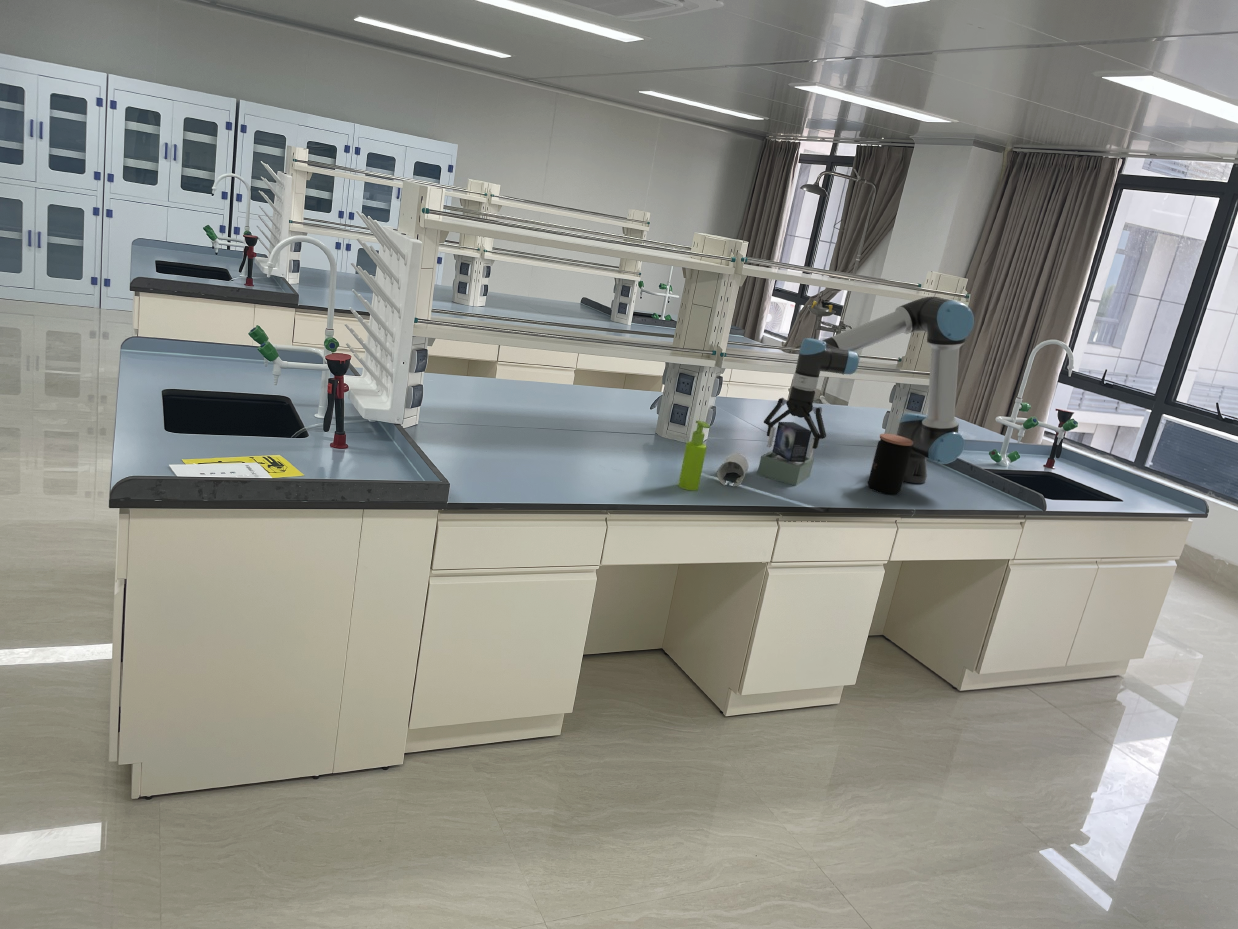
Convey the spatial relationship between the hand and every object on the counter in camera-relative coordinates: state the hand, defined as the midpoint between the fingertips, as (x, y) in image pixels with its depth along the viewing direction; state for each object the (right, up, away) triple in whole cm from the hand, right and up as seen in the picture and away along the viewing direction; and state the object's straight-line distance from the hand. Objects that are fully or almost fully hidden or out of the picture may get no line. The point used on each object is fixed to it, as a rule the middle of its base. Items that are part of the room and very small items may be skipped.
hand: (789, 452), depth 282 cm
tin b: (-3, -8, -1) cm, 9 cm away
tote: (-1, -8, +2) cm, 9 cm away
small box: (0, -2, +1) cm, 2 cm away
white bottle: (-20, -9, -10) cm, 24 cm away
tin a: (0, -7, +5) cm, 9 cm away
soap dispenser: (-34, -11, -26) cm, 44 cm away
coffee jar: (+33, -13, +8) cm, 36 cm away
